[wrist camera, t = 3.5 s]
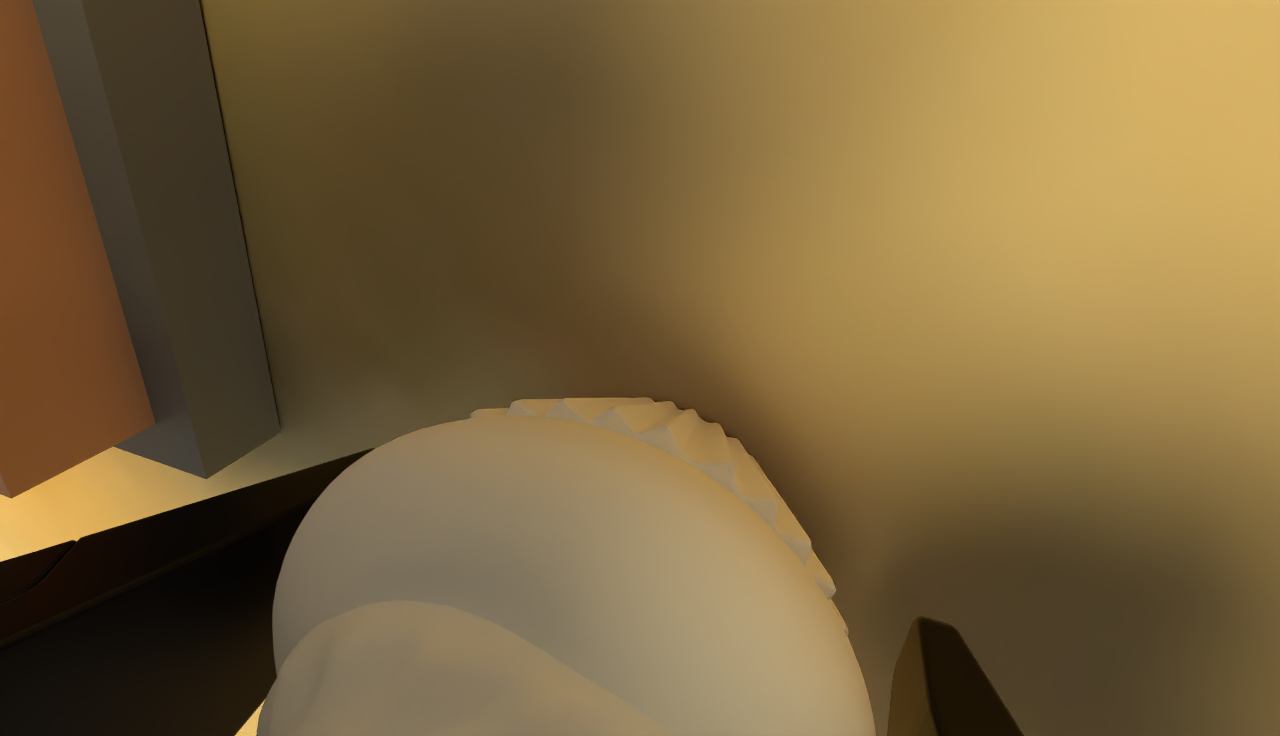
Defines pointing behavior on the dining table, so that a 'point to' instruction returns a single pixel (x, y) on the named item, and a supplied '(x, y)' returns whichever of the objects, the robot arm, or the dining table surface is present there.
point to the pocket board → (120, 247)
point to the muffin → (559, 588)
